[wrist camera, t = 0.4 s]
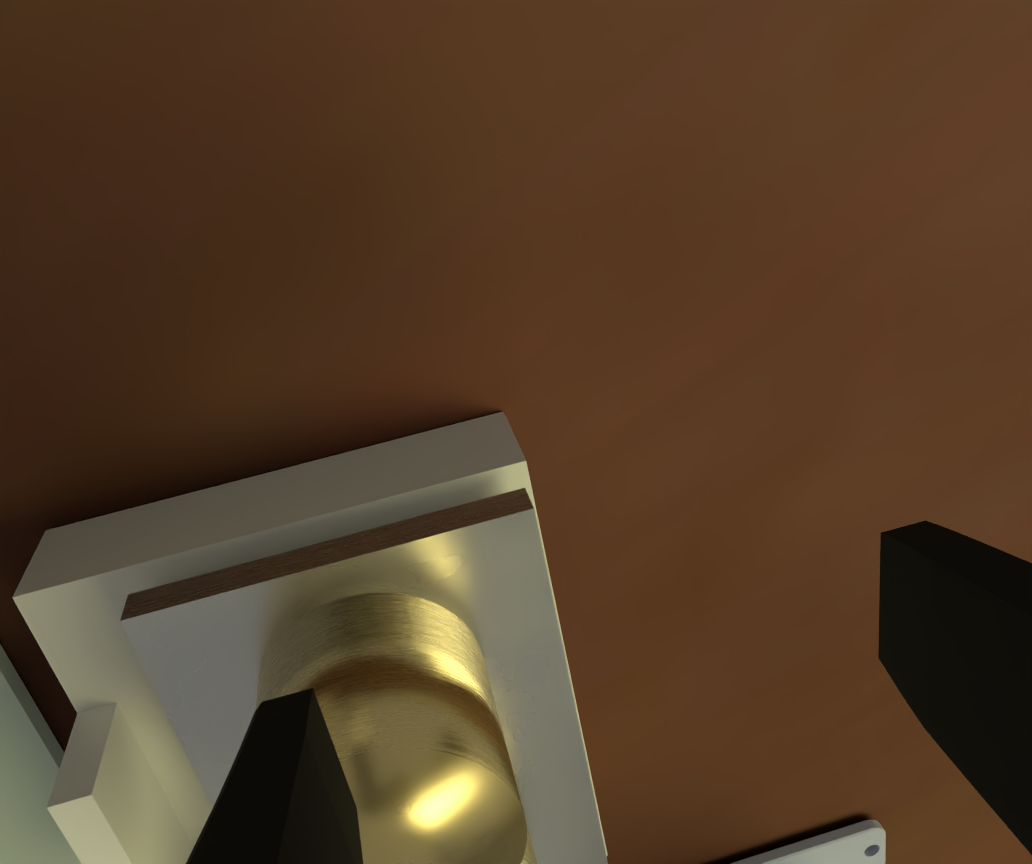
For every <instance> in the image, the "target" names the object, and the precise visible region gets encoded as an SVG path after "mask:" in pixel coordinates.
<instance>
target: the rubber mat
mask: <svg viewBox="0 0 1032 864" xmlns="http://www.w3.org/2000/svg"><path fill="white" fill-rule="evenodd" d="M63 756H64V751H63V750H62V748H61V746H60V745H59V743H58V741H57V740H56V738H55V736H54V734H53V733H52V731H51V729H50V728H49V726H48V724H47V723H46V721H45V719H44V717H43V716H42V714H41V712H40V711H39V709H38V707H37V706H36V704H35V702H34V700H33V699H32V697H31V695H30V694H29V692H28V690H27V689H26V687H25V685H24V683H23V682H22V680H21V678H20V677H19V675H18V673H17V672H16V670H15V668H14V666H13V665H12V663H11V661H10V660H9V658H8V656H7V655H6V653H5V651H4V649H3V648H2V646H1V644H0V864H81V862H80V860H79V859H78V857H77V856H76V854H75V852H74V851H73V849H72V848H71V846H70V844H69V843H68V841H67V840H66V838H65V836H64V835H63V833H62V832H61V830H60V828H59V827H58V825H57V824H56V822H55V820H54V819H53V817H52V816H51V814H50V812H49V811H48V809H47V805H48V802H49V799H50V796H51V793H52V790H53V787H54V784H55V781H56V778H57V774H58V771H59V768H60V765H61V762H62V759H63Z"/></svg>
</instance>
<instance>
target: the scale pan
mask: <svg viewBox="0 0 1032 864" xmlns="http://www.w3.org/2000/svg"><path fill="white" fill-rule="evenodd" d="M370 593H396V594H406V595H410V596H415V597H419V598H422V599H425V600H428V601H431V602H433V603H435V604H437V605H439V606H441V607H443V608H445V609H447V610H448V611H450V612H451V613H453V614H454V615H456V616H457V617H458V618H459V619H460V620H461V621H462V622H463V623H464V624H466V626H467V627H468V628H469V630H470V631H471V632H472V633H473V635H474V637H475V638H476V640H477V642H478V644H479V646H480V649H481V652H482V655H483V659H484V662H485V666H486V670H487V674H488V678H489V681H490V685H491V689H492V693H493V697H494V700H495V704H496V708H497V712H498V716H499V719H500V723H501V727H502V731H503V735H504V738H505V742H506V746H507V750H508V754H509V758H510V761H511V765H512V769H513V773H514V777H515V780H516V784H517V788H518V792H519V796H520V799H521V803H522V807H523V811H524V815H525V819H526V825H527V831H528V833H529V835H530V838H531V841H532V844H533V848H534V852H535V856H536V860H537V863H538V864H608V862H607V857H606V852H605V847H604V842H603V838H602V833H601V828H600V823H599V818H598V814H597V809H596V804H595V799H594V794H593V790H592V785H591V780H590V775H589V770H588V766H587V761H586V756H585V751H584V746H583V742H582V737H581V732H580V727H579V722H578V717H577V713H576V708H575V703H574V698H573V693H572V689H571V684H570V679H569V674H568V669H567V665H566V660H565V655H564V650H563V645H562V641H561V636H560V631H559V626H558V621H557V617H556V612H555V607H554V602H553V597H552V593H551V588H550V583H549V578H548V573H547V568H546V564H545V559H544V554H543V549H542V544H541V540H540V535H539V530H538V525H537V520H536V516H535V511H534V507H533V505H532V503H531V500H530V498H529V496H528V493H527V491H526V489H525V488H521V489H517V490H514V491H510V492H506V493H503V494H499V495H495V496H491V497H488V498H484V499H480V500H477V501H473V502H469V503H465V504H462V505H458V506H454V507H451V508H447V509H443V510H439V511H436V512H432V513H428V514H425V515H421V516H417V517H413V518H410V519H406V520H402V521H399V522H395V523H391V524H387V525H384V526H380V527H376V528H373V529H369V530H365V531H361V532H358V533H354V534H350V535H347V536H343V537H339V538H335V539H332V540H328V541H324V542H321V543H317V544H313V545H309V546H306V547H302V548H298V549H295V550H291V551H287V552H284V553H280V554H276V555H272V556H269V557H265V558H261V559H258V560H254V561H250V562H246V563H243V564H239V565H235V566H232V567H228V568H224V569H220V570H217V571H213V572H209V573H206V574H202V575H198V576H194V577H191V578H187V579H183V580H180V581H176V582H172V583H168V584H165V585H161V586H157V587H154V588H150V589H146V590H142V591H139V592H135V593H131V594H128V596H127V600H126V603H125V606H124V609H123V613H122V616H121V619H120V622H121V624H122V626H123V628H124V630H125V632H126V634H127V636H128V638H129V640H130V642H131V644H132V646H133V648H134V650H135V652H136V654H137V656H138V658H139V660H140V662H141V664H142V666H143V668H144V670H145V672H146V674H147V676H148V678H149V680H150V682H151V684H152V686H153V688H154V690H155V692H156V694H157V696H158V698H159V700H160V702H161V704H162V706H163V708H164V710H165V712H166V714H167V716H168V718H169V720H170V722H171V724H172V726H173V728H174V730H175V732H176V734H177V736H178V738H179V740H180V742H181V744H182V746H183V748H184V750H185V752H186V754H187V756H188V758H189V760H190V762H191V764H192V766H193V768H194V770H195V772H196V774H197V776H198V778H199V780H200V782H201V784H202V786H203V788H204V790H205V792H206V794H207V796H208V798H209V800H210V802H211V804H212V806H213V807H214V804H215V802H216V800H217V798H218V796H219V793H220V791H221V789H222V787H223V785H224V782H225V780H226V778H227V776H228V774H229V771H230V769H231V767H232V765H233V762H234V760H235V758H236V755H237V753H238V751H239V748H240V746H241V744H242V741H243V739H244V736H245V734H246V732H247V729H248V727H249V724H250V722H251V720H252V717H253V715H254V712H255V711H256V699H257V686H258V679H259V674H260V670H261V668H262V665H263V662H264V660H265V658H266V656H267V654H268V652H269V651H270V649H271V647H272V646H273V645H274V643H275V642H276V641H277V639H278V638H279V637H280V636H281V635H282V634H283V633H284V632H285V631H286V630H287V629H288V628H289V627H290V626H291V625H292V624H294V623H295V622H296V621H298V620H299V619H300V618H301V617H303V616H305V615H306V614H308V613H310V612H311V611H313V610H315V609H317V608H319V607H321V606H323V605H326V604H328V603H330V602H333V601H336V600H339V599H342V598H346V597H351V596H355V595H361V594H370Z"/></svg>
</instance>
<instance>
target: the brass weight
mask: <svg viewBox="0 0 1032 864" xmlns="http://www.w3.org/2000/svg"><path fill="white" fill-rule="evenodd" d="M311 688H313V690H314V692H315V695H316V698H317V701H318V703H319V706H320V709H321V712H322V714H323V717H324V720H325V722H326V725H327V728H328V731H329V733H330V736H331V739H332V742H333V744H334V747H335V750H336V752H337V755H338V758H339V761H340V763H341V766H342V769H343V772H344V774H345V777H346V780H347V782H348V785H349V788H350V791H351V793H352V796H353V799H354V802H355V804H356V807H357V813H358V822H359V830H360V839H361V847H362V856H363V864H521V862H522V859H523V857H524V854H525V849H526V844H527V825H526V819H525V815H524V811H523V807H522V803H521V799H520V796H519V792H518V788H517V784H516V780H515V777H514V773H513V769H512V765H511V761H510V758H509V754H508V750H507V746H506V742H505V738H504V735H503V731H502V727H501V723H500V719H499V716H498V712H497V708H496V704H495V700H494V697H493V693H492V689H491V685H490V681H489V678H488V674H487V670H486V666H485V662H484V659H483V655H482V652H481V649H480V646H479V644H478V642H477V640H476V638H475V637H474V635H473V633H472V632H471V631H470V630H469V628H468V627H467V626H466V624H464V623H463V622H462V621H461V620H460V619H459V618H458V617H457V616H456V615H454V614H453V613H451V612H450V611H448V610H447V609H445V608H443V607H441V606H439V605H437V604H435V603H433V602H431V601H428V600H425V599H422V598H419V597H415V596H410V595H406V594H396V593H370V594H361V595H355V596H351V597H346V598H342V599H339V600H336V601H333V602H330V603H328V604H326V605H323V606H321V607H319V608H317V609H315V610H313V611H311V612H310V613H308V614H306V615H305V616H303V617H301V618H300V619H299V620H298V621H296V622H295V623H294V624H292V625H291V626H290V627H289V628H288V629H287V630H286V631H285V632H284V633H283V634H282V635H281V636H280V637H279V638H278V639H277V641H276V642H275V643H274V645H273V646H272V647H271V649H270V651H269V652H268V654H267V656H266V658H265V660H264V662H263V665H262V668H261V670H260V674H259V679H258V686H257V699H256V709H257V708H258V706H259V705H260V703H261V702H263V701H267V700H270V699H274V698H278V697H281V696H285V695H289V694H292V693H296V692H300V691H303V690H307V689H311Z"/></svg>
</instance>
